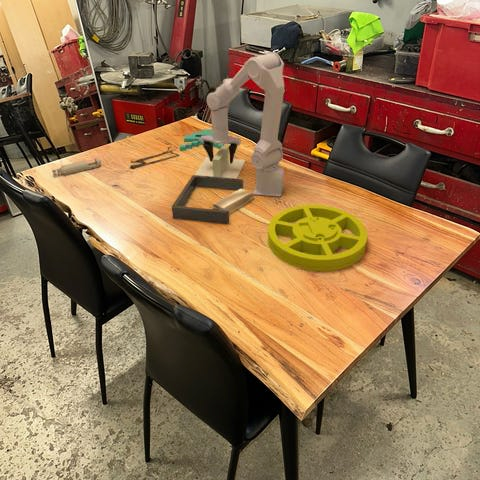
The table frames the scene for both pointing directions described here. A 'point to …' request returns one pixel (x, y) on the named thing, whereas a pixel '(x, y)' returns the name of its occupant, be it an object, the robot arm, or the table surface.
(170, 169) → the table surface
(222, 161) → the sage board
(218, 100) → the robot arm
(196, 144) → the alien figure
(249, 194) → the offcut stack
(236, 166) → the rubber mat
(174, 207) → the offcut rack
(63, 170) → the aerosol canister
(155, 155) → the hacksaw
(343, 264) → the pulley
